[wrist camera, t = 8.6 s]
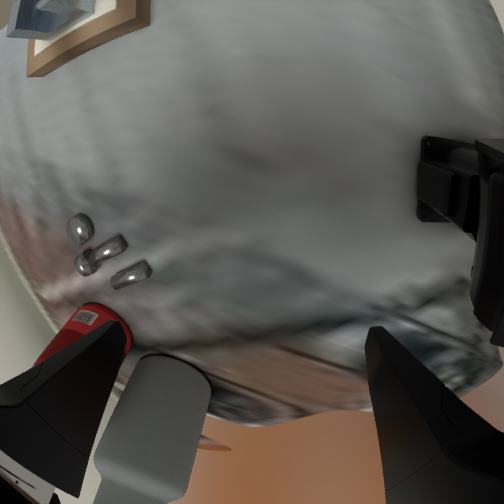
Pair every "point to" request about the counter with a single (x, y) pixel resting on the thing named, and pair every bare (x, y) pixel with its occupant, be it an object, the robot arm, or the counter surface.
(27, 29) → the housing
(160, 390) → the water bottle
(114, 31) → the picture frame
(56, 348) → the canned food
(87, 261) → the loose bolts
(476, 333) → the counter surface
